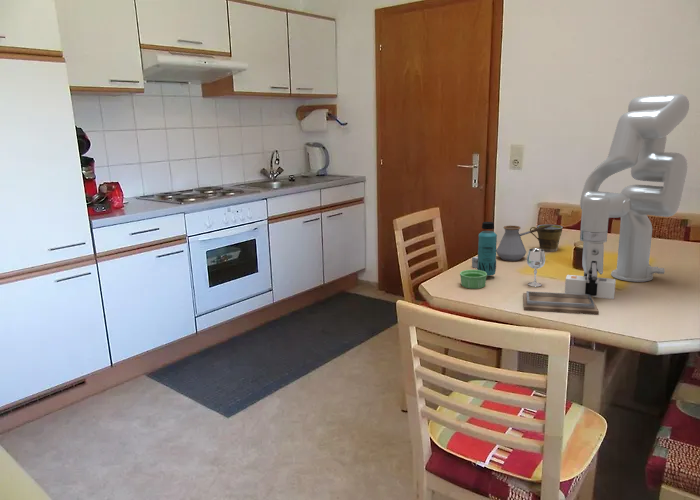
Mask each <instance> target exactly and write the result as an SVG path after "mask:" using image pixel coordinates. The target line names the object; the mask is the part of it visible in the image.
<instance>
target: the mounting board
mask: <svg viewBox="0 0 700 500" xmlns="http://www.w3.org/2000/svg"><path fill="white" fill-rule="evenodd" d="M522 294H523V295H522V299H523V310H524V311H531V312H533V311H534V312H549V313H552V312H553V313H567V314H580V313H583V315H584V314H585V315H595V316H596V315H597V316H599V313H600V311H599V309H598V306H597V304H596V302H595V300H594V297H592V296H591V295H590V294H570V293H565V292H550V291H549V292H547V291H531V290H529V291H526V292H523V293H522Z"/></svg>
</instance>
